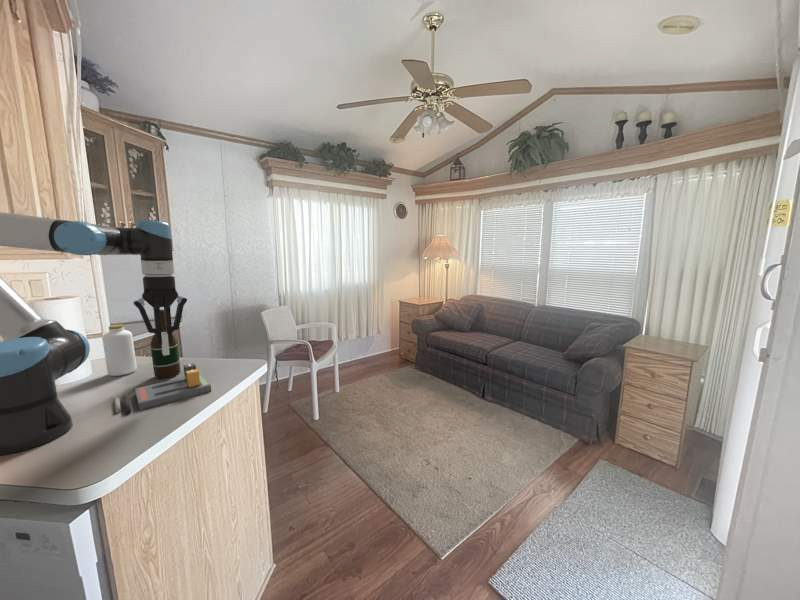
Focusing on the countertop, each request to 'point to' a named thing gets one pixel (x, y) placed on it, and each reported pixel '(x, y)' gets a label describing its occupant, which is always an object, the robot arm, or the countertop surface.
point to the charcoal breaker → (189, 368)
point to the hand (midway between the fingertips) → (165, 354)
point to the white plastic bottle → (119, 351)
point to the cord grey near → (117, 405)
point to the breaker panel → (169, 392)
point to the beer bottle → (168, 363)
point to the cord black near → (126, 405)
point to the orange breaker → (192, 377)
